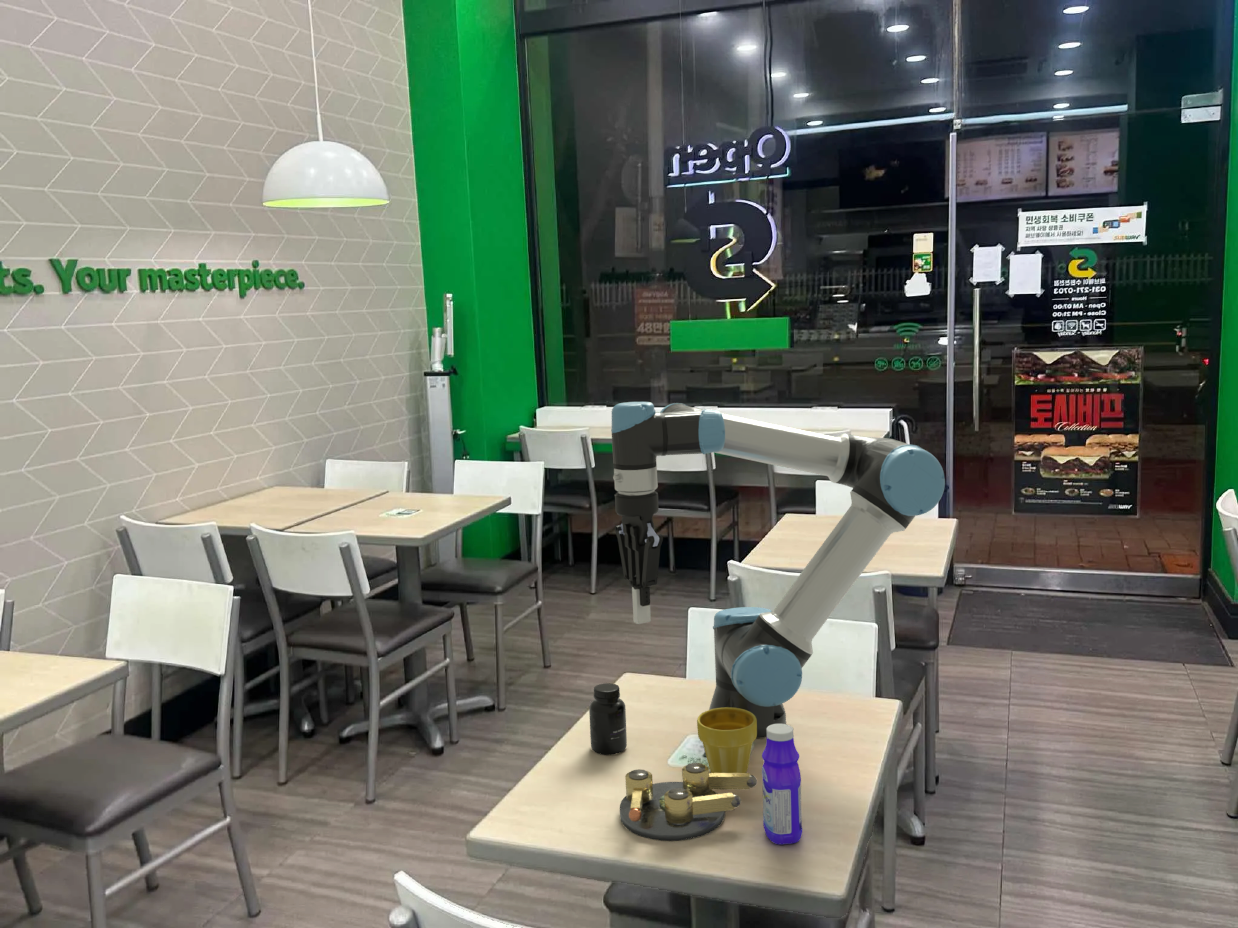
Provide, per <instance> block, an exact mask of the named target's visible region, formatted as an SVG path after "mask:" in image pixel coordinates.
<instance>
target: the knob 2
mask: <svg viewBox="0 0 1238 928" xmlns="http://www.w3.org/2000/svg"><path fill="white" fill-rule="evenodd" d="M664 801H665V819H666V820H667V821H668V822H671V823H675V824H683V823H687V822H689V821H691V820H692V819H693V815H697V814H705V813H713V812H720V811H726V812H727V811H735V808H738V807H739V806H740V805H741V803H742V800H741V797H740V796H739V795H738V794H736V793H735V794H733V792H726V793H725V792H724V793H718V794H716V795H708V796H700V797H692V793H691V792H690V791H688V790H686V789H682V788H675V789H671V790H669V791H667V792H666V793H665V794H664Z"/></svg>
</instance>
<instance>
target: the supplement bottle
mask: <svg viewBox="0 0 1238 928" xmlns="http://www.w3.org/2000/svg"><path fill="white" fill-rule="evenodd" d="M593 699H594V700H592V701H591V702H590V703H589V705H588V706H589V709H588V711H589V715H588V716H589V734H590V735H589V738H590V749H591V750H592V752H594V753H596V754H597V755H604V756H613V755H617V754H620V753H622V752H624V751H625V750H626V748H627V745H628V743H627V742H628V739H627V738H628V737H627V734H628V733H627V715H626V714H627V713H626V703H625V701H624V700H623V699H621V693H620V686H619V685H618V684H616V683H609V682H608V683H607V682H606V683H600V684H596V685H595V686H594V687H593Z"/></svg>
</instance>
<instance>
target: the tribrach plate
mask: <svg viewBox="0 0 1238 928" xmlns="http://www.w3.org/2000/svg"><path fill="white" fill-rule="evenodd" d="M675 788H682V789H683V781H663V782H656V783H653V798H652V799H651V800H650V801H648V802H645V803H643V804H642V811H641V814H642V816H641V819H640V821H637V822H634V821H631V819H630V818H629V812H630V810H631V808H630V807H631V802H630V801H628V800H627V798H626V795H625V796H624V797H623V799H622V800H621V801H620V804H619V818H620V822H621V825H622V826H623V827H624V828H625V829H626V830H627V831H629V832H631V833H632V834H634V835H636V836H639V837H642V838H644V839H648V840H649V839H650V840H654V841H661V842H666V841H667V842H677V841H685V840H693V839H696V838H700V837H703V836H705V835H707V834H710V833H712V832H714V831H715V830H716V829H717V828H719V827H720V826H721V825H722V824H723V822H724V820H725V817H726V816H725V815H726V812H725V811H720V812H713V813H705V814H697V815H693V819H692V820H691V821H689V822H687V823H683V824H675V823H671V822H668V821H667V820H666V819H665V801H664V794H665V793H666V792H667V791H669V790H671V789H675ZM716 794H719V793H718V792H716V790H714V789H710V791H709V792H708V793H707V794H705V795H701V796H708V795H716ZM692 797H700V796H692Z"/></svg>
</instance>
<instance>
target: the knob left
mask: <svg viewBox="0 0 1238 928" xmlns="http://www.w3.org/2000/svg"><path fill="white" fill-rule="evenodd" d="M681 771H682V775H681V776H682V782H683V789H686V790H688V791H690V792H691V793H692V796H701V795H705V794H707V793H708V792H709V791H710V789H712V790H750V789H751V788H755V787H756V786H757V784H758V779H757V777H756V776H755V775H753V774H750V772H746V773H711V772H710V769H709V766H707V765H706V764H703V763H701V762H691V763H688V764H686V765H684V766H682V769H681Z"/></svg>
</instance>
